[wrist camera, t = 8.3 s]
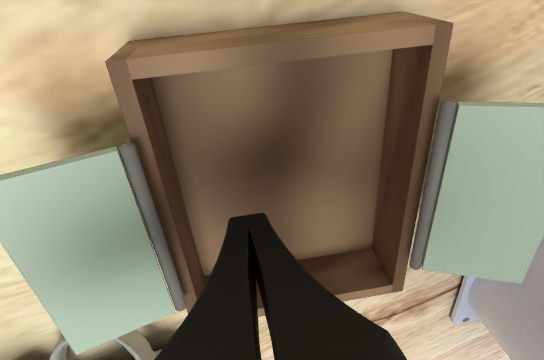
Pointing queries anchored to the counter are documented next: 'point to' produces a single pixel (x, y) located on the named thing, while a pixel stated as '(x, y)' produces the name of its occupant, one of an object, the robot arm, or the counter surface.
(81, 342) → the flap near
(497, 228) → the flap far
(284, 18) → the counter surface
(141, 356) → the ceramic mug
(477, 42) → the counter surface
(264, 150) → the crate
